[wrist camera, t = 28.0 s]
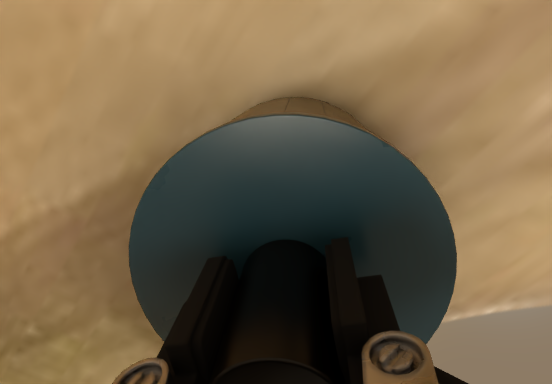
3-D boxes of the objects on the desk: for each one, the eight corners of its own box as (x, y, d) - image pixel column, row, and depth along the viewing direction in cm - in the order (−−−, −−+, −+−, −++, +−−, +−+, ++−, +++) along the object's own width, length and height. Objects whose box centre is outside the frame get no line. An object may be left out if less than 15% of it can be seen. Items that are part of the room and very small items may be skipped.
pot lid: (189, 388, 16) (124, 576, 10) (97, 145, 12) (-83, 222, 7) (453, 362, 14) (551, 567, 9) (433, 75, 11) (576, 97, 5)
